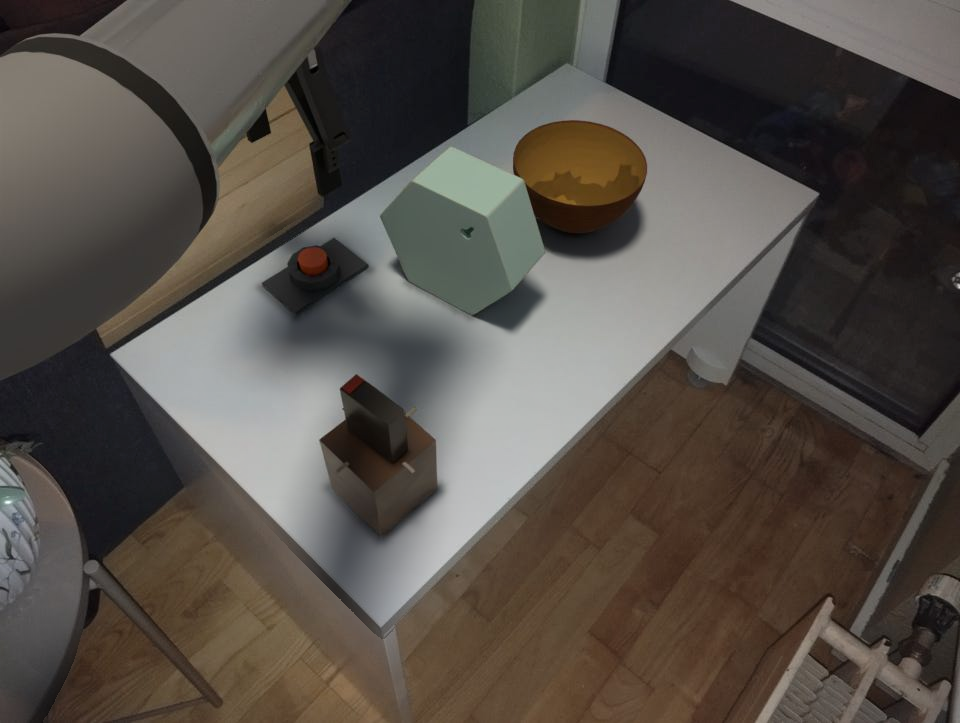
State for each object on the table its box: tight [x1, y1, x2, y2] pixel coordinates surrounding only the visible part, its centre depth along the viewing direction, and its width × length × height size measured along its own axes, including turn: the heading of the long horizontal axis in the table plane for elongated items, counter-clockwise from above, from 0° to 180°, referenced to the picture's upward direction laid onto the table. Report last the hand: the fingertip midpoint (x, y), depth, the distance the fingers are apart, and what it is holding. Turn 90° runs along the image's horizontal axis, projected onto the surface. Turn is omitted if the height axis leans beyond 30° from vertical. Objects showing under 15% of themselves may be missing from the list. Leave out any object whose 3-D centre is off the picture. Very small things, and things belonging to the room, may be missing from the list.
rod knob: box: [339, 373, 408, 464], centre depth 71 cm, size 6×2×7 cm, turn 51°
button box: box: [261, 237, 369, 316], centre depth 99 cm, size 12×7×2 cm, turn 136°
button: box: [298, 247, 328, 276], centre depth 98 cm, size 4×4×2 cm
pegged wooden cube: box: [318, 406, 438, 538], centre depth 78 cm, size 10×10×10 cm
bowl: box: [512, 119, 648, 234], centre depth 105 cm, size 18×18×10 cm
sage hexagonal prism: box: [379, 146, 546, 316], centre depth 93 cm, size 17×8×21 cm
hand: (293, 162), depth 85 cm, fingers open, 12 cm apart
